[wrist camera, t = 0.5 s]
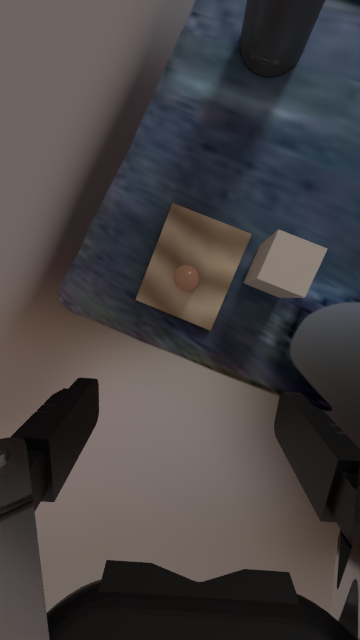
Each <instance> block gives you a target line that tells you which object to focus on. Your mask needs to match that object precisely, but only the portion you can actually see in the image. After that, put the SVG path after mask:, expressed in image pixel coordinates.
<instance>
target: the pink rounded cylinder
mask: <svg viewBox="0 0 360 640" xmlns="http://www.w3.org/2000/svg"><path fill="white" fill-rule="evenodd" d="M173 279H174V283H175V285H176V286H177V287H178V288H179V289H181V290H182V291H186V292H188V291H192V290H193V289H195V288H196V286H197V285H198V281H199V275H198V272H197V271H196V269H195V268H194V267H192V266H189V265H183V266H180V267H179V268H178V269H177V270H176V271H175V273H174V277H173Z"/></svg>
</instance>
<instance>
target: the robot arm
mask: <svg viewBox="0 0 360 640" xmlns="http://www.w3.org/2000/svg"><path fill="white" fill-rule="evenodd" d="M324 2H325V0H247V3H246V9H245V15H244V21H243V27H242V33H241V39H240V50H241V55H242V57H243V60H244V62H245V63H246V65H247V66H248V67H249V68H250V69H251V70H252V71H253V72H255V73H257V74H259V75H263V76H276V75H280V74H282V73H284V72H286V71H288V70H289V69H290V68H292V67H293V66H294V65H295V64H296V63H297V61H298V60H299V58H300V57H301V55H302V52H303V50H304V48H305V46H306V43H307V41H308V39H309V36H310V34H311V32H312V29H313V27H314V25H315V23H316V20H317V18H318V16H319V14H320V11H321V9H322V7H323V4H324ZM98 391H99V389H98V380H97V379H92V378H78V379H77V380H76V381H75V382H74V383H73V384H72V385H71V386H70V387H69V389H65V388H64V389H63V390H60V391H59V392H57V393H55V394H53V395H52V396H51V397H50V398H49V399H48V400H47V401H46V402H45V403H44V405H42V406H41V407H40V408H39V409H38V410H37V412H35V413H34V414H33V415H32V416H31V417H30V418H29V419H28V420H27V421H26V422H25V423H24V424H23V425H22V426H21V427H20V428H19V429H18V430H17V431H16V432H15V433H14V434H13V435H12V436H11V437H9V438H3V439H0V640H360V449H359V447H357V445H356V444H355V443H354V442H353V441H352V440H351V439H350V438H349V437H348V436H347V435H346V434H344V432H343V431H342V430H341V429H340V428H339V426H336V423H335V422H334V421H333V420H332V419H331V418H330V417H329V416H328V415H327V414H326V413H324V412H323V411H321V410H320V409H318V408H317V407H315V406H312V405H311V403H310V402H309V401H308V400H307V399H306V398H305V397H304V396H303V395H302V394H300V393H287V392H282V393H281V394H280V397H279V403H278V407H277V412H276V417H275V424H274V430H275V435H276V438H277V440H278V442H279V444H280V446H281V448H282V450H283V452H284V453H285V455H286V457H287V459H288V461H289V463H290V465H291V467H292V468H293V470H294V472H295V474H296V476H297V478H298V480H299V482H300V483H301V485H302V487H303V489H304V491H305V493H306V495H307V497H308V498H309V500H310V502H311V504H312V506H313V508H314V510H315V512H316V513H317V515H318V517H319V519H320V521H324V522H337V524H338V526H339V527H340V531H339V534H338V539H337V551H336V561H335V562H336V563H335V572H334V583H333V595H332V603H331V609H330V614H329V613H328V612H326V611H325V610H324V609H322V608H321V607H319V606H318V605H317V604H315V603H313V602H312V601H310V600H308V599H306V598H305V597H302V596H301V595H298V594H296V591H295V588H294V585H293V582H292V579H291V577H290V574H289V572H277V571H263V570H248V569H244V570H241V571H237V572H234V573H230V574H227V575H224V576H221V577H217V578H214V579H211V580H207V581H204V582H196V581H193V580H190V579H188V578H186V577H183V576H181V575H178V574H176V573H174V572H171V571H169V570H167V569H164V568H162V567H160V566H157V565H155V564H152V563H143V562H127V561H113V560H112V561H111V560H107V561H106V564H105V568H104V573H103V576H102V579H101V580H98V581H95V582H92V583H90V584H88V585H85V586H83V587H81V588H80V589H78V590H76V591H74V592H73V593H71V594H70V595H68V596H67V597H65V598H64V599H63V600H61V601H60V602H59V603H57V604H56V605H55V606H54V607H53V608H52V609H51V610H50V611H48V612H47V613H46V606H45V598H44V589H43V580H42V572H41V564H40V555H39V546H38V538H37V529H36V521H35V510H36V509H37V507H38V505H39V503H40V502H41V501H47V502H54V501H55V499H56V497H57V496H58V494H59V492H60V490H61V488H62V487H63V485H64V483H65V481H66V479H67V477H68V475H69V474H70V472H71V470H72V468H73V466H74V464H75V462H76V461H77V459H78V457H79V455H80V453H81V451H82V450H83V448H84V446H85V444H86V442H87V440H88V438H89V437H90V435H91V433H92V431H93V429H94V427H95V425H96V423H97V420H98V415H99V392H98Z"/></svg>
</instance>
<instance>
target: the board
mask: <svg viewBox="0 0 360 640" xmlns="http://www.w3.org/2000/svg"><path fill="white" fill-rule="evenodd" d="M251 235H252V234H250V233H247V232H245V231H242V230H240V229H237V228H235V227H232V226H230V225H227V224H225V223H222V222H220V221H217V220H215V219H212V218H209V217H207V216H204V215H202V214H199V213H197V212H194V211H192V210H189V209H187V208H184V207H182V206H179V205H177V204H174V203H172V206H171V208H170V211H169V214H168V216H167V219H166V222H165V224H164V227H163V229H162V232H161V235H160V237H159V240H158V242H157V245H156V248H155V250H154V253H153V256H152V258H151V261H150V263H149V266H148V269H147V271H146V274H145V277H144V279H143V282H142V284H141V287H140V290H139V292H138V295H137V298H136V300H137V301H140V302H142V303H144V304H147V305H149V306H152V307H154V308H157V309H159V310H161V311H164V312H166V313H169V314H171V315H174V316H176V317H178V318H181V319H183V320H186V321H188V322H191V323H193V324H195V325H198V326H200V327H203V328H205V329H208V330H210V331H211V328H212V326H213V324H214V321H215V319H216V317H217V314H218V312H219V310H220V307H221V305H222V303H223V300H224V298H225V296H226V293H227V291H228V289H229V286H230V284H231V282H232V279H233V277H234V275H235V272H236V270H237V267H238V265H239V263H240V260H241V258H242V256H243V253H244V251H245V249H246V246H247V244H248V242H249V239H250V237H251ZM183 265H189V266H192V267H194V268H195V269H196V271H197V272H198V275H199V281H198V285H197V286H196V288H195V289H193V290H192V291H188V292H186V291H182V290H181V289H179V288H178V287H177V286H176V285H175V283H174V279H173V277H174V273H175V271H176V270H177V269H178V268H179V267H180V266H183Z"/></svg>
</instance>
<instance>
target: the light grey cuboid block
mask: <svg viewBox="0 0 360 640" xmlns="http://www.w3.org/2000/svg"><path fill="white" fill-rule="evenodd" d="M326 251H327V248H324V247H322V246H319V245H317V244H314V243H312V242H309V241H307V240H304V239H301V238H299V237H296V236H294V235H291V234H289V233H286V232H284V231H281V230H277V231H276V232H275V233H274V234H273V235H272V236H270V237H269V238H268V239H267V240H266V241H264V242H263V243H262V244H261V245H260V246H259V248H258V250H257V252H256V254H255V257H254V259H253V261H252V264H251V266H250V268H249V271H248V273H247V275H246V278H245V280H244V282H243V283H244V284H246V285H249V286H251V287H254V288H256V289H259V290H261V291H264V292H266V293H268V294H271V295H273V296H276V297H278V298H305V296H306V294H307V292H308V290H309V288H310V285H311V283H312V281H313V279H314V277H315V275H316V273H317V271H318V268H319V266H320V264H321V262H322V260H323V258H324V256H325V253H326Z"/></svg>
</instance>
